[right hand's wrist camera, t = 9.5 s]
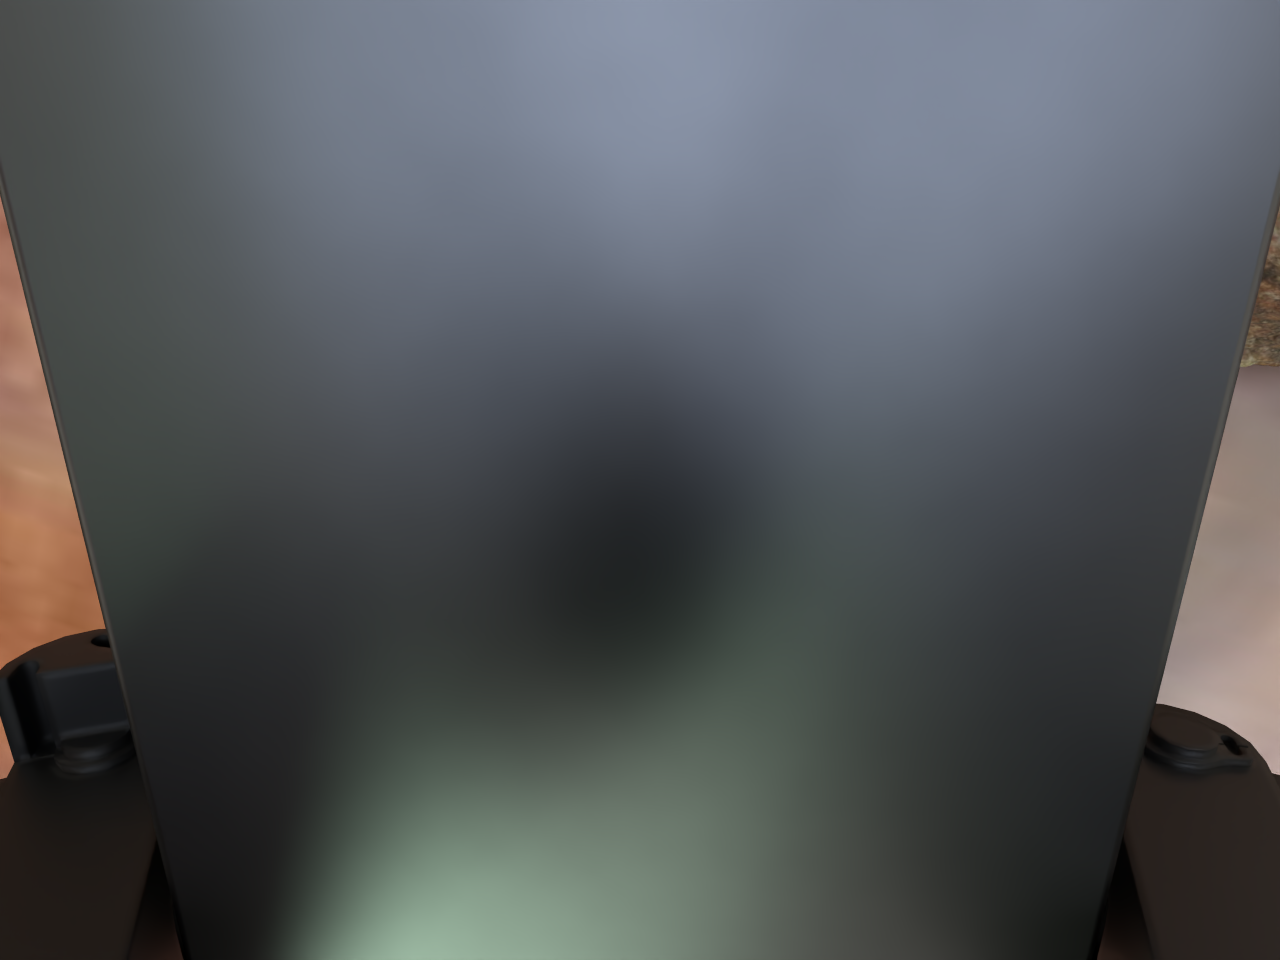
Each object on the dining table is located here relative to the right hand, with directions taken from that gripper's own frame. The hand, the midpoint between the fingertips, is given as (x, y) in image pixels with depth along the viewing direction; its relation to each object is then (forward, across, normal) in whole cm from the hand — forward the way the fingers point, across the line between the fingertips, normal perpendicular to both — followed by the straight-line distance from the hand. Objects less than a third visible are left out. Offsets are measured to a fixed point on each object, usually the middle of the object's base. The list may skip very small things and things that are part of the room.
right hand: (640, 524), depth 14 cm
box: (+1, 0, -9) cm, 9 cm away
